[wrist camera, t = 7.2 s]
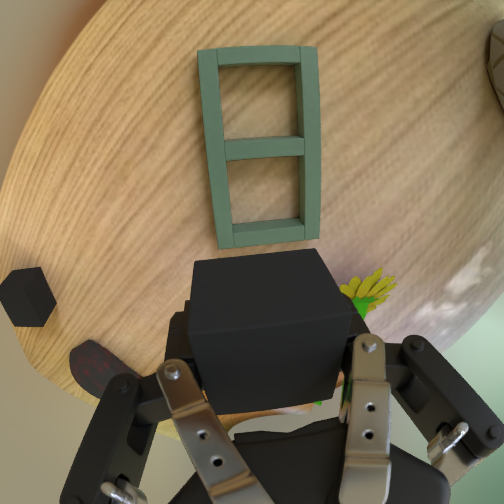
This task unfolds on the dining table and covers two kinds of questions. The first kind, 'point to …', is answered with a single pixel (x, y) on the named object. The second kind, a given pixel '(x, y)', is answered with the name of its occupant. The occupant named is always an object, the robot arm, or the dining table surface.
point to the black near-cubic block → (267, 330)
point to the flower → (367, 293)
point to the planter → (497, 60)
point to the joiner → (264, 144)
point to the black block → (27, 297)
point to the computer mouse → (95, 367)
